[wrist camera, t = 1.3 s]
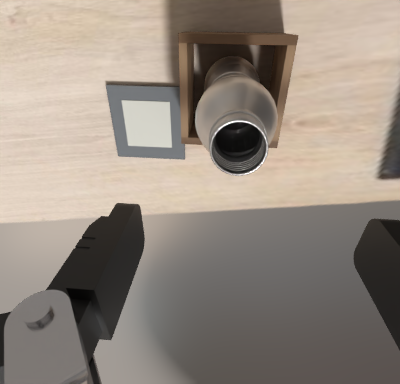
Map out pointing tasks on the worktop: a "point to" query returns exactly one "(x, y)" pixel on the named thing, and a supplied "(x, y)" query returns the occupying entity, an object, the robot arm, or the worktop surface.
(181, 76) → the crate
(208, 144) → the plastic bottle
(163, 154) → the mat
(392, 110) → the worktop surface
